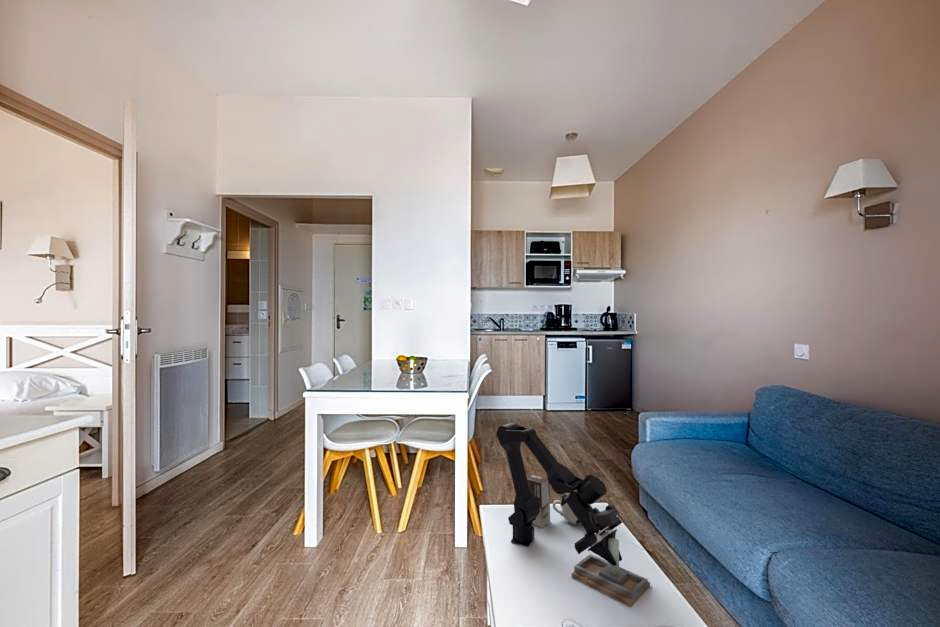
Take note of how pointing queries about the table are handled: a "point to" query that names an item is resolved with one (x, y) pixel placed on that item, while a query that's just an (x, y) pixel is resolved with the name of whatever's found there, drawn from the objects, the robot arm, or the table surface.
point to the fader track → (625, 594)
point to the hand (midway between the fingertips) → (618, 562)
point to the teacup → (566, 512)
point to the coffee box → (540, 497)
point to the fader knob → (612, 571)
